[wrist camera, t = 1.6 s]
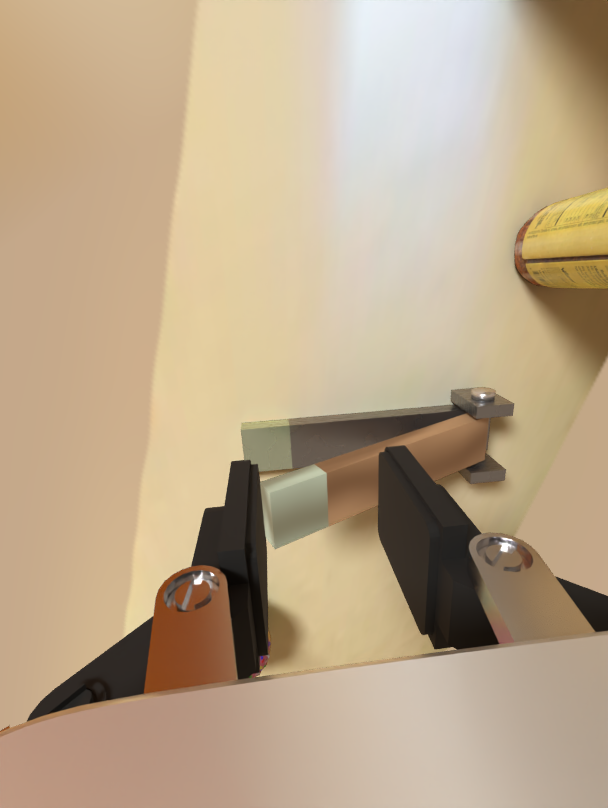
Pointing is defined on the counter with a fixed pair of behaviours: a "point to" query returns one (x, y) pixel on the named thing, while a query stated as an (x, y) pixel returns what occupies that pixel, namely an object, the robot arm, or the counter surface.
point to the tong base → (366, 433)
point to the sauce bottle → (566, 243)
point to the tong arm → (362, 478)
